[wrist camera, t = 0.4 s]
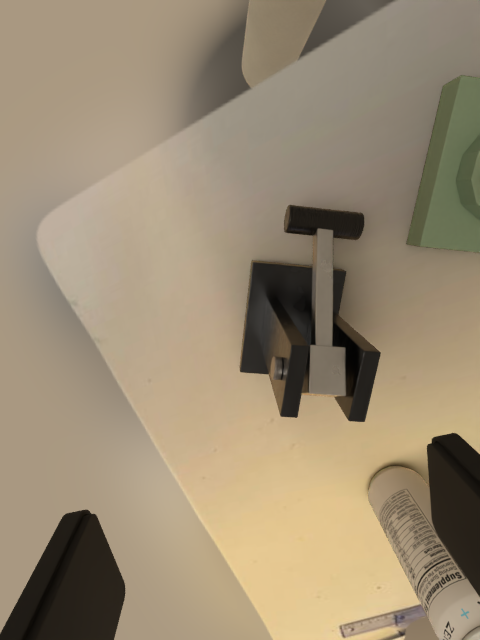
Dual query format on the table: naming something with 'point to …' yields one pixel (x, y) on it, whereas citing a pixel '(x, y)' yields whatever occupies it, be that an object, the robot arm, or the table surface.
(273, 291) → the bracket
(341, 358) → the lever
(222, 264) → the table surface
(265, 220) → the table surface
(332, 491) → the table surface
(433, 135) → the button box
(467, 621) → the energy drink can
